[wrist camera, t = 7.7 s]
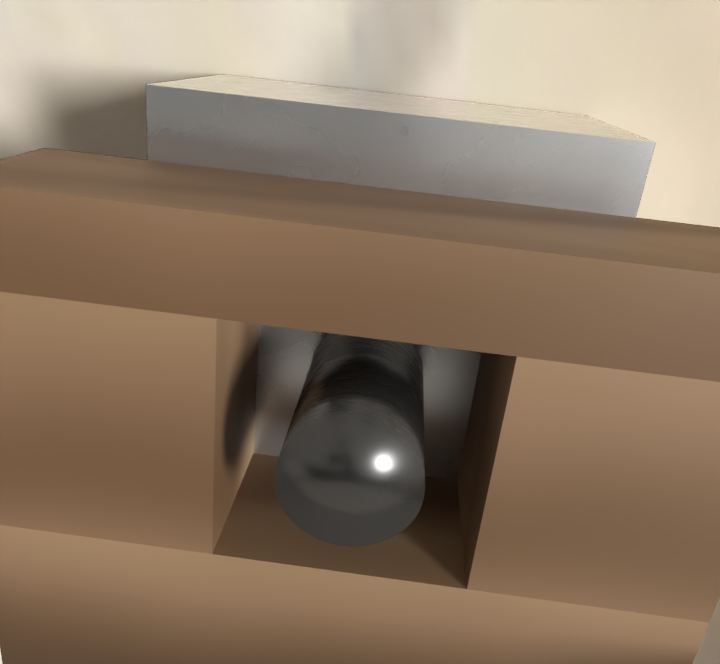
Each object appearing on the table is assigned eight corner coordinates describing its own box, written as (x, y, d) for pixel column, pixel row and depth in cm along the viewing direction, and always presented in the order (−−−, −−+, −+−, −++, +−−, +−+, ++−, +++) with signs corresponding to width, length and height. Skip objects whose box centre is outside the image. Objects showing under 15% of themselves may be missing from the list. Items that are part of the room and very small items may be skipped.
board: (44, 147, 10) (-71, 178, 7) (742, 230, 9) (846, 289, 7) (94, 748, 15) (35, 875, 13) (546, 815, 15) (570, 958, 12)
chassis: (223, 74, 13) (31, 99, 7) (587, 115, 13) (760, 183, 6) (211, 642, 19) (105, 949, 12) (460, 678, 19) (482, 1009, 12)
